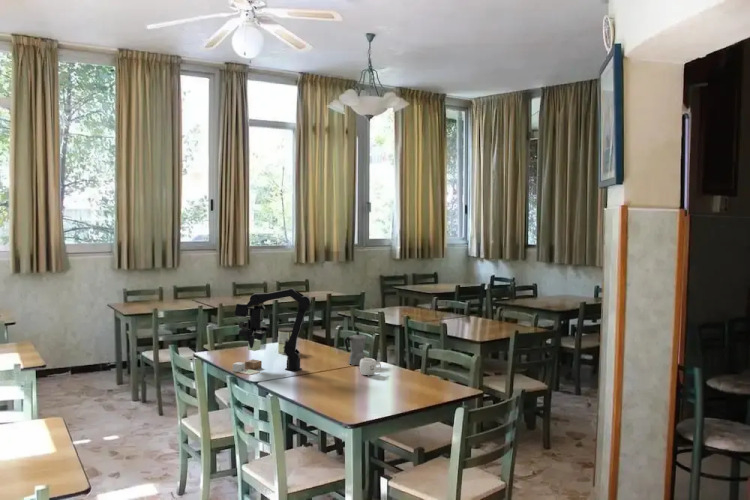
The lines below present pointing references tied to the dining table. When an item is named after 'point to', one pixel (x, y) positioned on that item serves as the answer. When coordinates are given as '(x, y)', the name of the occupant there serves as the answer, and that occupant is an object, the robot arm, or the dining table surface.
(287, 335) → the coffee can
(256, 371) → the swatch tile
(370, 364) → the mug
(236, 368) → the grey block
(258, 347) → the sage block
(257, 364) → the walnut block
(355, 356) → the coffeepot
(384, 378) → the dining table surface
